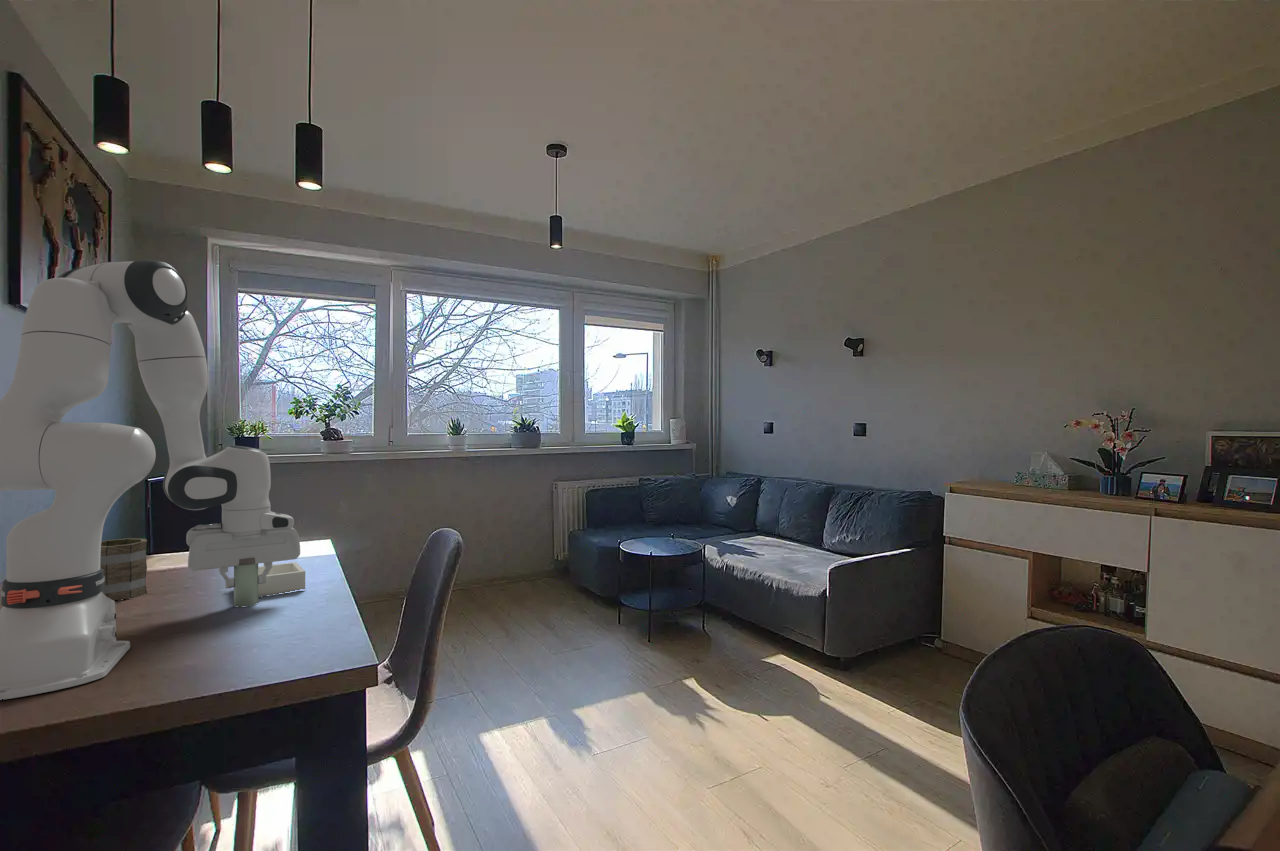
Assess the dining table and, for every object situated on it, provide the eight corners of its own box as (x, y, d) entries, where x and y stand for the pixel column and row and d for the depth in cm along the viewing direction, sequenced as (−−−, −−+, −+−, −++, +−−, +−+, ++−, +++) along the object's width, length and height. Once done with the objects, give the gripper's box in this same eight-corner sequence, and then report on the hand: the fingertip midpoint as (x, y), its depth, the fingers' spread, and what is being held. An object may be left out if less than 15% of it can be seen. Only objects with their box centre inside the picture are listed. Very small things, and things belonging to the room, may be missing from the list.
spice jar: (259, 604, 130) (260, 557, 130) (234, 609, 127) (234, 560, 127) (257, 600, 133) (257, 553, 133) (232, 603, 130) (232, 556, 130)
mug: (158, 592, 138) (159, 540, 138) (100, 605, 129) (101, 549, 129) (121, 584, 145) (121, 534, 145) (63, 596, 135) (63, 542, 135)
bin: (305, 591, 141) (305, 571, 141) (243, 600, 133) (244, 579, 133) (296, 580, 150) (296, 561, 150) (238, 588, 142) (238, 568, 142)
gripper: (186, 527, 121) (186, 596, 121) (302, 518, 134) (301, 581, 134) (185, 523, 126) (185, 590, 126) (296, 515, 139) (296, 575, 139)
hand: (246, 585), depth 130 cm, fingers closed on spice jar, 4 cm apart
